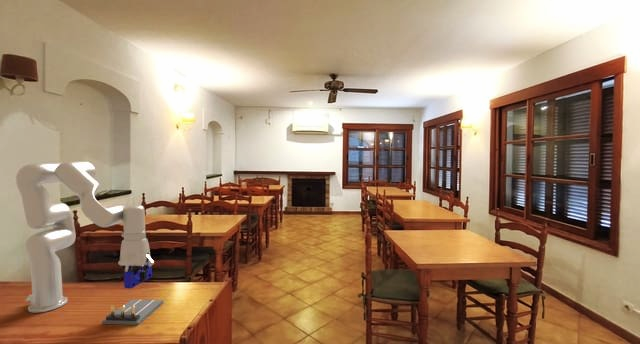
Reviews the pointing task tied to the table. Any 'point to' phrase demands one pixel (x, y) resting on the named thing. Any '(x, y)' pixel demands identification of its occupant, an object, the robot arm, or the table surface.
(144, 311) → the header board
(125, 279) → the blue curved bracket
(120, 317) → the brass pins
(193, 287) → the table surface
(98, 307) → the table surface
